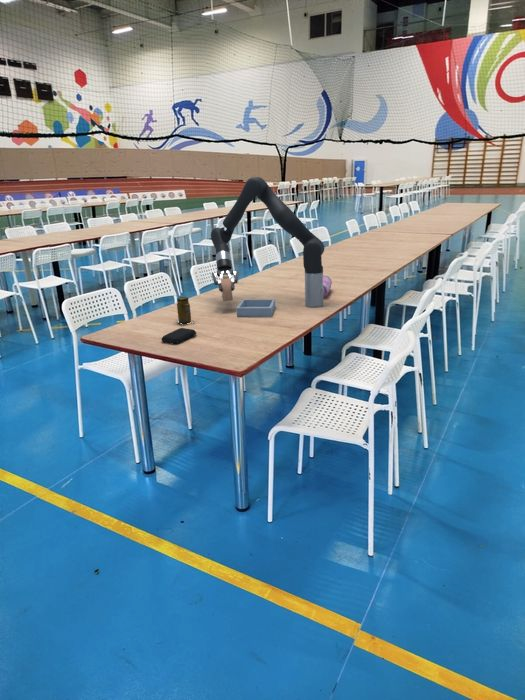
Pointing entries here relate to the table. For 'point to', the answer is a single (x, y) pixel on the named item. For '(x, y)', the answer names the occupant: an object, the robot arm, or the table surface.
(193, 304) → the table surface
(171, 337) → the carrying case or bag
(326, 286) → the pencil case
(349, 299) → the table surface
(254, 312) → the bin
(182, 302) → the condiment
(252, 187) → the robot arm
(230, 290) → the cruet
